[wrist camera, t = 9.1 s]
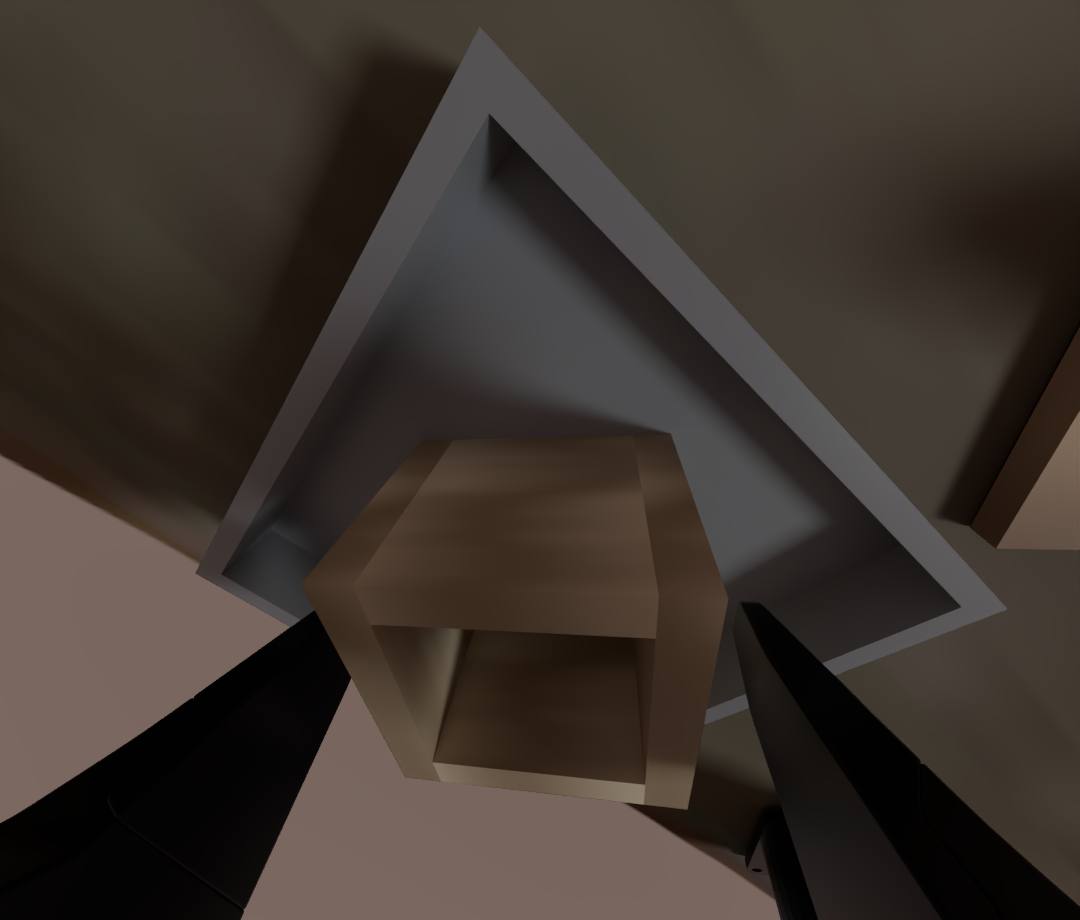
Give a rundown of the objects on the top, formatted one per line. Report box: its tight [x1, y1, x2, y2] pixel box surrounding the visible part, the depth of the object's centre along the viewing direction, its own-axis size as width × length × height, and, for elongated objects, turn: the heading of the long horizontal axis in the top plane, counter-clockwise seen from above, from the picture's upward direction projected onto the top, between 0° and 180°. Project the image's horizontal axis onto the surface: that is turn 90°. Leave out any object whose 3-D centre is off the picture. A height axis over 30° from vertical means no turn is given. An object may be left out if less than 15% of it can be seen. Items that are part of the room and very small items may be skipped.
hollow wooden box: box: [301, 434, 728, 809], centre depth 10 cm, size 6×8×5 cm
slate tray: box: [196, 27, 1007, 725], centre depth 11 cm, size 14×14×2 cm
